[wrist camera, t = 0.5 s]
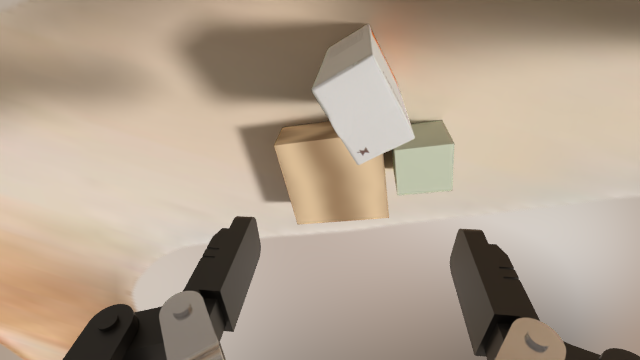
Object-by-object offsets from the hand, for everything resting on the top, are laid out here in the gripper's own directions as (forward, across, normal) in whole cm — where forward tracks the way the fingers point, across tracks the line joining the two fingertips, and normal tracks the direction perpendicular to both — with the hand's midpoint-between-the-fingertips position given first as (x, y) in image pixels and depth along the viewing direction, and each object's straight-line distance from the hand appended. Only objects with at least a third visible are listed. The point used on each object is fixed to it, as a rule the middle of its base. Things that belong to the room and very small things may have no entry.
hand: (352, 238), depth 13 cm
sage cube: (+21, -6, +7) cm, 23 cm away
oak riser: (+21, +2, +9) cm, 23 cm away
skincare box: (+21, 0, -2) cm, 21 cm away
